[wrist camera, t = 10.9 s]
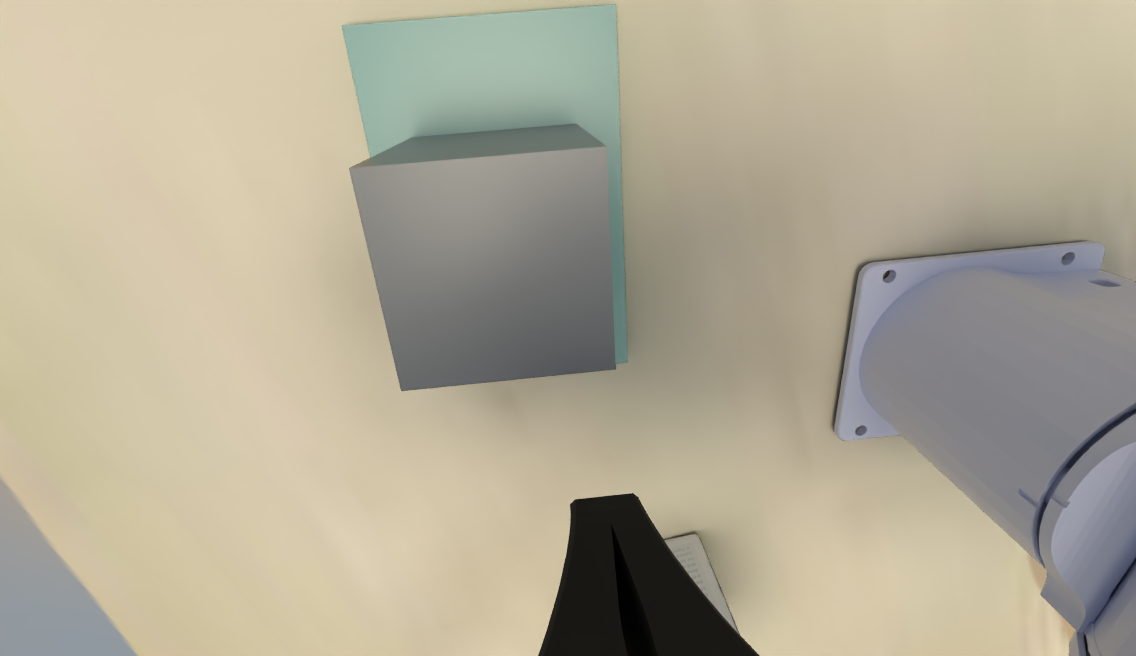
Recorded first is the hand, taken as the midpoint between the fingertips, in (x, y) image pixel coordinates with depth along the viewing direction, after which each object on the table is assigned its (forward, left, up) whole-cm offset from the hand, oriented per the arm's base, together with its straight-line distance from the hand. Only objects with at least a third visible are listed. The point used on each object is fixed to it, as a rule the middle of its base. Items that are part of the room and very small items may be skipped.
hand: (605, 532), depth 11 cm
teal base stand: (+2, -5, -10) cm, 11 cm away
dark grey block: (+2, -5, -10) cm, 11 cm away
